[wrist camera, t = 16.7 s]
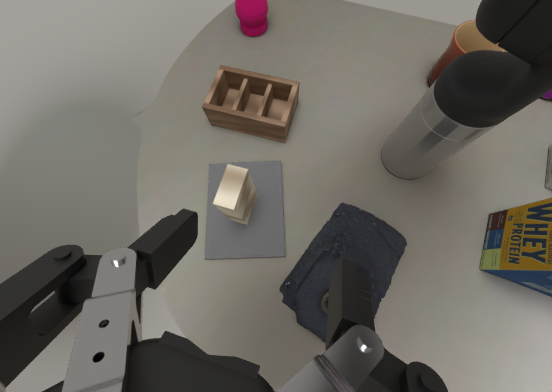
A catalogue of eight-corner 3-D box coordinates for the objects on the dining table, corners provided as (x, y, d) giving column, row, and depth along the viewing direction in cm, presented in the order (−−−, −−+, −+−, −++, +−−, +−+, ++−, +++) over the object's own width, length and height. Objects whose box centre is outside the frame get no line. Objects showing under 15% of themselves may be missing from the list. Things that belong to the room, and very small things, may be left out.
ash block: (247, 225, 43) (233, 209, 32) (231, 220, 44) (212, 203, 32) (257, 194, 45) (248, 169, 33) (242, 190, 45) (227, 163, 34)
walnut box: (284, 142, 48) (284, 126, 43) (211, 124, 50) (201, 107, 45) (297, 102, 51) (299, 81, 45) (227, 86, 53) (220, 65, 47)
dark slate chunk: (415, 246, 42) (431, 243, 38) (349, 361, 38) (357, 374, 33) (341, 197, 45) (347, 189, 41) (271, 298, 41) (269, 302, 36)
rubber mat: (210, 165, 48) (209, 164, 47) (281, 162, 47) (281, 160, 47) (205, 259, 42) (204, 259, 42) (285, 256, 42) (285, 256, 41)
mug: (445, 107, 49) (485, 67, 39) (413, 80, 51) (443, 36, 42) (484, 77, 51) (531, 31, 41) (451, 52, 53) (489, 3, 43)
